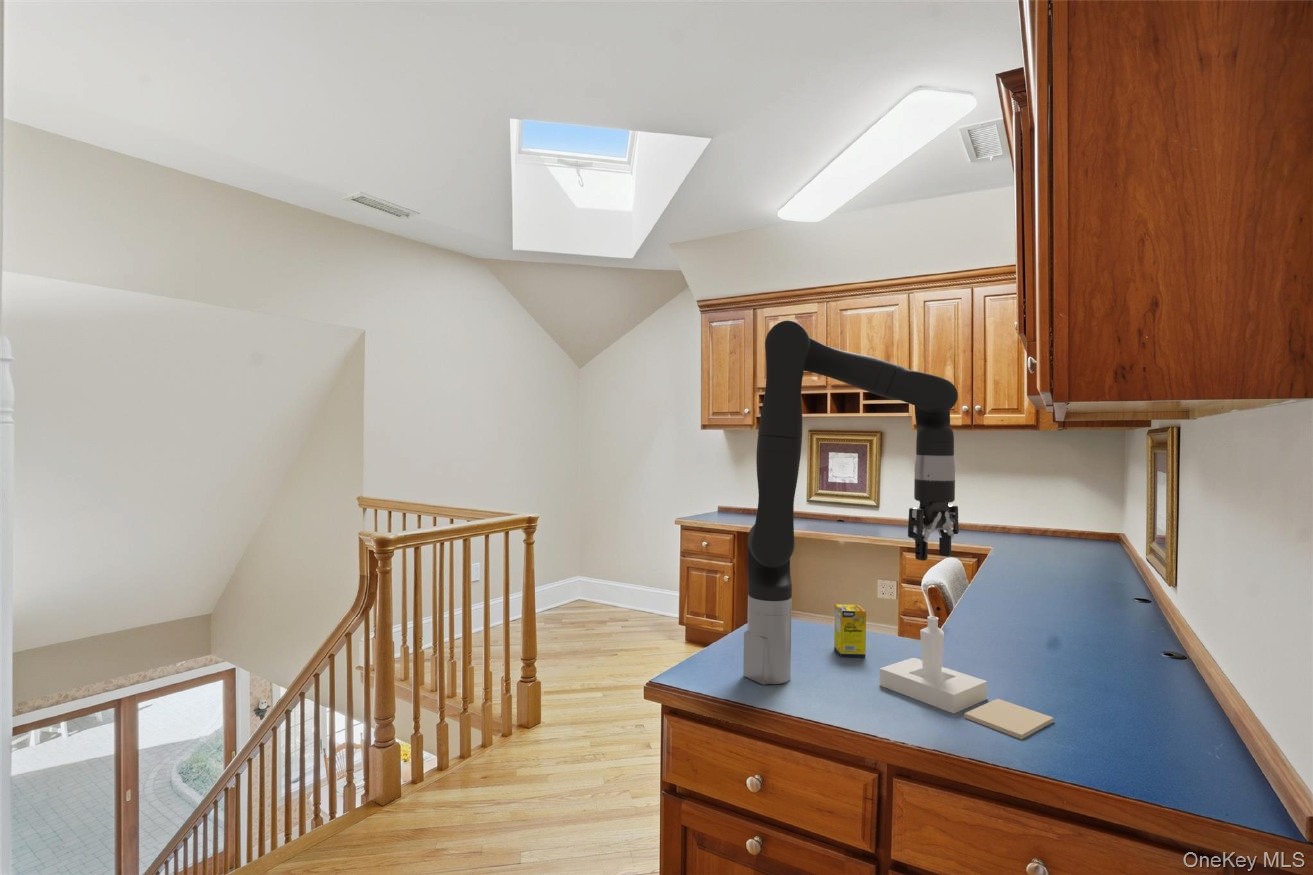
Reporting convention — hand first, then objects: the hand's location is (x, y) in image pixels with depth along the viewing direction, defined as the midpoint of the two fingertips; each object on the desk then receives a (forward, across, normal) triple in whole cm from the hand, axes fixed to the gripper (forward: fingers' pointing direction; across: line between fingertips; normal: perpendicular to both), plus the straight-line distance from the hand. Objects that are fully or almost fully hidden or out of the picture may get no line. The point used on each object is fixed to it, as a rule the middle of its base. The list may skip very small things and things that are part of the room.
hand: (933, 557), depth 127 cm
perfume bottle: (+27, 0, 0) cm, 27 cm away
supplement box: (+27, +5, +24) cm, 37 cm away
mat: (+27, 0, -15) cm, 31 cm away
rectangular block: (+27, 0, 0) cm, 27 cm away
